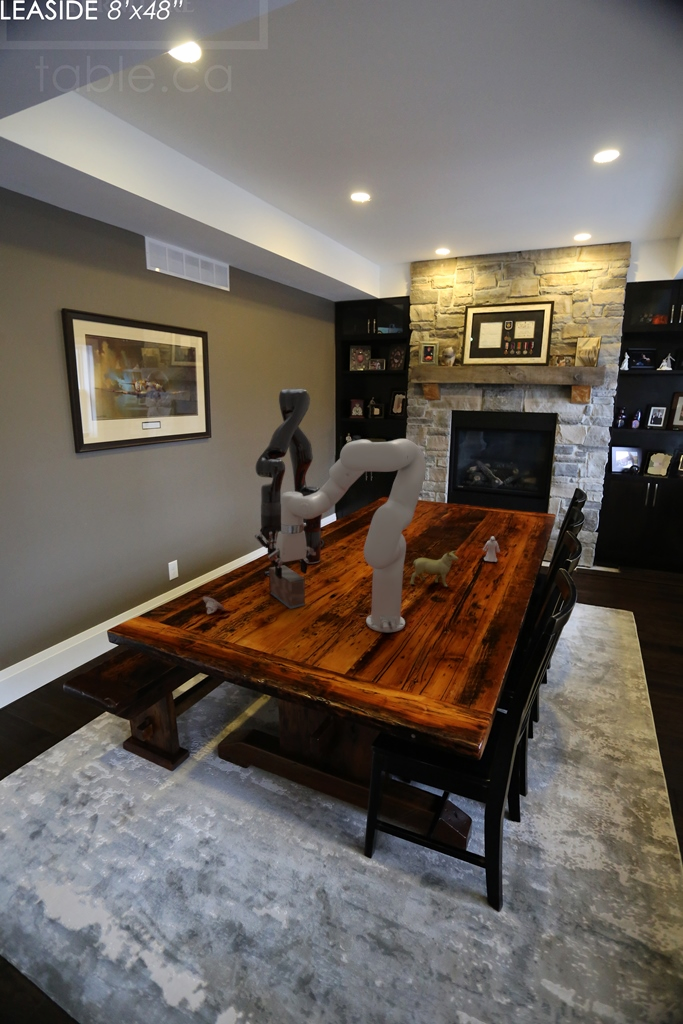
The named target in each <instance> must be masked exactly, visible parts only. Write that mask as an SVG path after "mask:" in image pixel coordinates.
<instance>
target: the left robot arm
mask: <svg viewBox="0 0 683 1024" xmlns="http://www.w3.org/2000/svg"><path fill="white" fill-rule="evenodd" d="M310 404H311V397H310V394H309V391H308V390H307V389H304V388H283V389H281V390H280V392H279V395H278V405H279V410H280V412H281V417H282V423H281V424H280V425H279V426H278V427H276V429H275V430H274V431H273V433H272V435H271V438H270V440H269V442H268V446H267V447H266V448H265V449H264V451H263V452H262V454H261V455H260V456H259V457H258V458H257V461H256V463H255V473H256V475H257V476H258V477H261V478H268V479H272V481H271V483H265V484H263V485H262V486H261V487H260V497H261V498H260V529H259V533H258V534H255V535H254V538H255V539H256V540H257V541H258V543H259V544H260V545H261V546H262V547H264V548H265V549H267V557H268V556H269V555H270V554H271V553H273V552H274V551H276V543H277V537H278V533H279V532H280V531H281V496H282V494H281V493H282V492H281V490H282V485H283V480H284V477H285V472H286V464H285V462H284V461H283V458H284V457H285V456H286V455H287V453H288V452H289V459H290V463H291V469H292V474H293V486H294V487H293V488H294V492H299V493H301V494H302V495H303V496H308V495H311V494H313V493H316V492H317V491H318V490H319V489H320V488H321V487H317V486H309V485H307V482H306V475H307V472H308V470H309V468H310V466H311V464H312V462H313V458H314V456H313V449H312V448H313V447H312V443H311V440H310V439H309V437H308V435H307V434H306V433H305V431H304V430H303V429H302V428H301V427H300V424H301V423H302V422H303V419H304V417H305V416H306V414H307V412H308V410H309V408H310ZM322 517H323V514H321V515H319V516H317V517H315V518H312V519H305V518H303V523H306V527H303V531H304V532H305V537H306V546H308V547H310V548H313V549H314V552H313V554H312V557H311V558H310V559H309V562H308V563H307V565H315V564H316V565H317V564H319V563H321V561H322V558H321V557H322V556H321V551H322V548H323V546H324V544H325V541H324V540H323V539H322V531H324V529H323V528H322ZM264 539H265V541H264ZM307 553H308V550H307V552H306V555H307ZM275 558H276V557H274V559H275ZM298 561H299V562H300V563H301V561H302V559H299V560H298Z"/></svg>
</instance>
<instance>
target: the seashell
mask: <svg viewBox="0 0 683 1024" xmlns="http://www.w3.org/2000/svg"><path fill="white" fill-rule="evenodd" d="M202 600H203V602H204V603H205V608H206V614H207V615H211V614H213V613H215V612H216V611H217V610H222V611H225V610H226V608H225V606H224V605H223V604H221V602H219V601H218V600H216V599H214V598H212V597H209V596H203V597H202Z"/></svg>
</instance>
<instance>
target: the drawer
mask: <svg viewBox="0 0 683 1024" xmlns="http://www.w3.org/2000/svg"><path fill="white" fill-rule="evenodd" d="M273 567H274V566H272V567H271V566H270V567H269V568H268V571H267V570H266V571H264V572H263V576H264V577H265V578H266V577H268V583H269V584H268V585H269V586H268V588H269V590H270V591H271V572H270V568H273Z"/></svg>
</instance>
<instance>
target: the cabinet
mask: <svg viewBox="0 0 683 1024" xmlns="http://www.w3.org/2000/svg"><path fill="white" fill-rule="evenodd" d="M272 567H273V568H271V567H269V568H270V572H271V590H270V595H272V596H273V597H274V598H276V599H277V600H278V601H279V602H281V603H282V604H283V605H284V606H285V607H287V608H289V609H290V610H292V609H295V608H299V607H300V608H301V607H305V605H306V578H305V577H303V576H302V575H300V574H299V573H297V572H296V571H294V570H292V569H291V568H290V567H288V566H286V565H285V564H284V565H283V564H282V565H281V568H282V578H281V579H279V578H278V577H277V576H276V575H275V566H272Z"/></svg>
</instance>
